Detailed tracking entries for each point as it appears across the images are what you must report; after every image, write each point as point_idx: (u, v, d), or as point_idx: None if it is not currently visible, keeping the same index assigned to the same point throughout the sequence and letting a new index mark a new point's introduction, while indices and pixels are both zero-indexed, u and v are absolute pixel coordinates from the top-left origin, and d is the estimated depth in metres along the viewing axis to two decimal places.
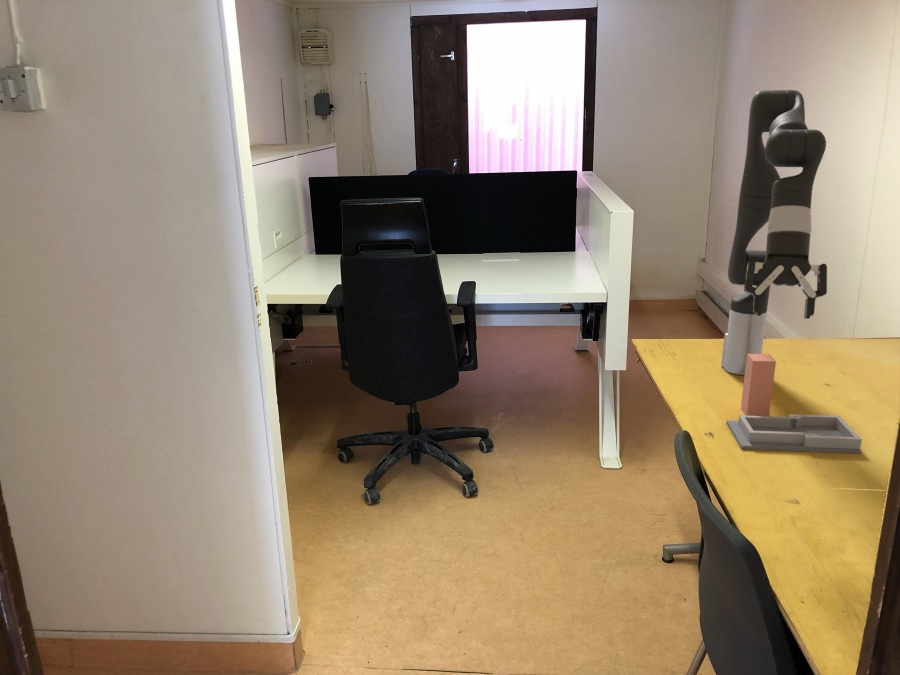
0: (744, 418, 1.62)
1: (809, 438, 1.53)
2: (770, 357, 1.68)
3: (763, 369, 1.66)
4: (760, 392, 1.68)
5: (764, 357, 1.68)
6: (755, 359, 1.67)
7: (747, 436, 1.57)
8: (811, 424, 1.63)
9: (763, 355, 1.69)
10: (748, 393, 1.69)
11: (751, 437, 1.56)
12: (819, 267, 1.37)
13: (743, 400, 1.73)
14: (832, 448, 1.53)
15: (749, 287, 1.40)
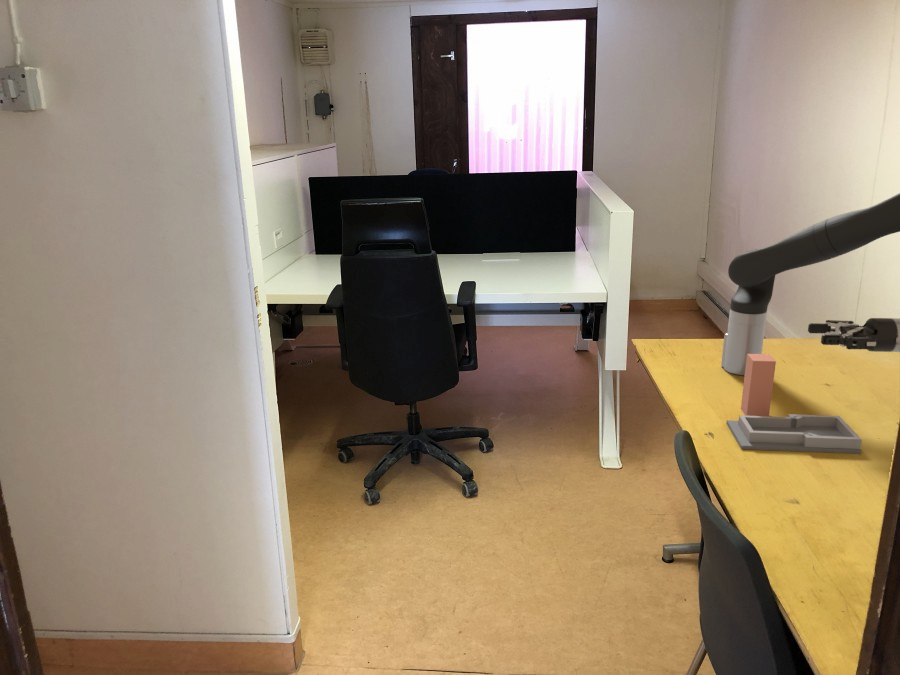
0: (744, 418, 1.62)
1: (809, 438, 1.53)
2: (770, 357, 1.68)
3: (763, 369, 1.66)
4: (760, 392, 1.68)
5: (764, 357, 1.68)
6: (755, 359, 1.67)
7: (747, 436, 1.57)
8: (811, 424, 1.63)
9: (763, 355, 1.69)
10: (748, 393, 1.69)
11: (751, 437, 1.56)
12: None
13: (743, 400, 1.73)
14: (832, 448, 1.53)
15: None
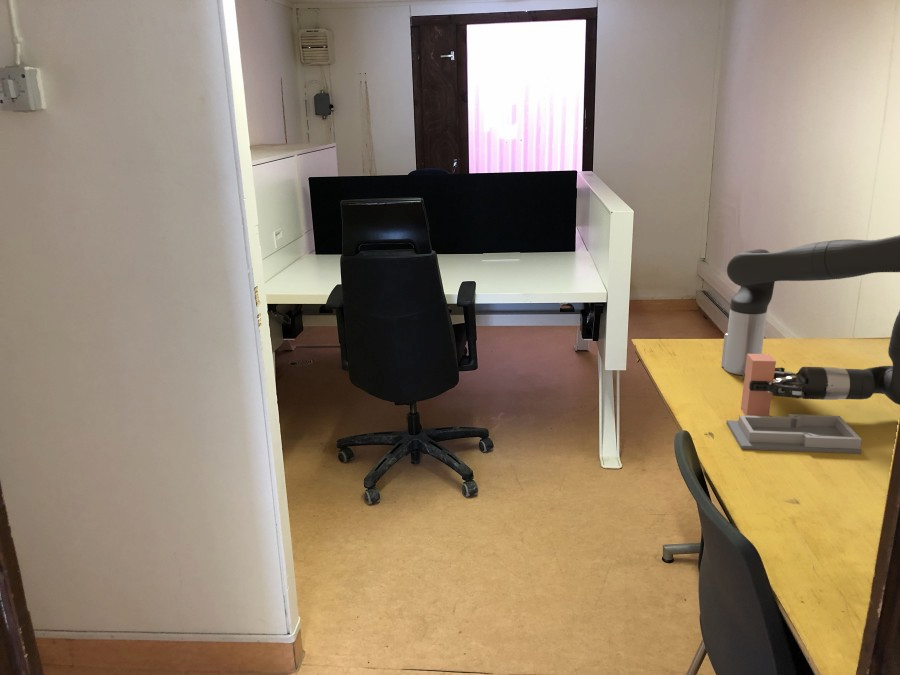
0: (744, 418, 1.62)
1: (809, 438, 1.53)
2: (770, 357, 1.68)
3: (763, 369, 1.66)
4: (760, 392, 1.68)
5: (764, 357, 1.68)
6: (754, 359, 1.67)
7: (747, 436, 1.57)
8: (811, 424, 1.63)
9: (763, 355, 1.69)
10: (748, 393, 1.69)
11: (751, 437, 1.56)
12: None
13: (743, 400, 1.73)
14: (832, 448, 1.53)
15: None
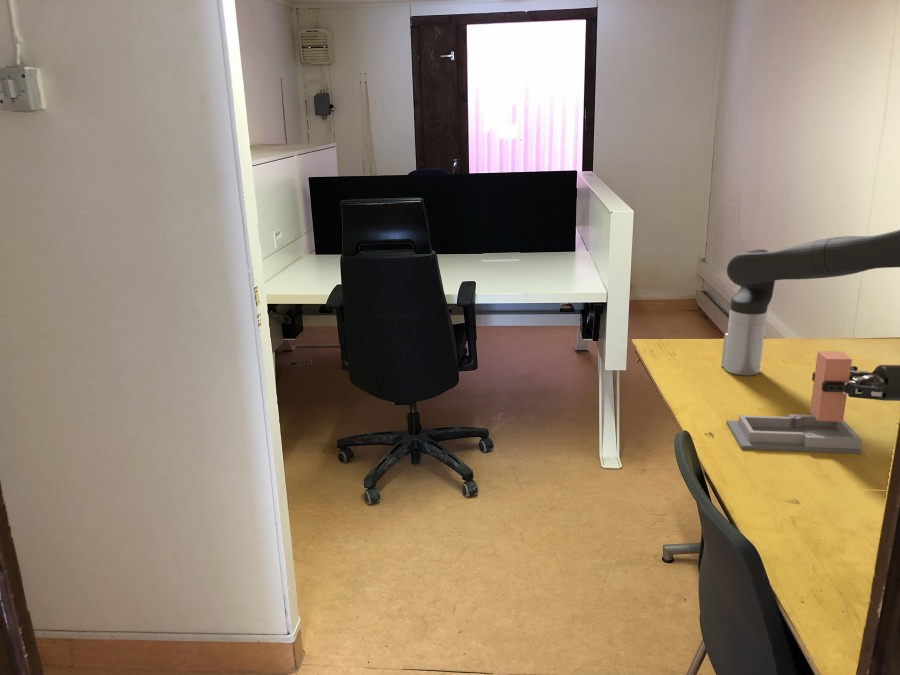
0: (744, 418, 1.62)
1: (809, 438, 1.53)
2: (844, 355, 1.53)
3: (838, 368, 1.51)
4: (833, 393, 1.53)
5: (837, 355, 1.53)
6: (828, 357, 1.51)
7: (747, 436, 1.57)
8: (811, 424, 1.63)
9: (836, 353, 1.54)
10: (820, 395, 1.54)
11: (751, 437, 1.56)
12: None
13: (813, 402, 1.57)
14: (832, 448, 1.53)
15: None
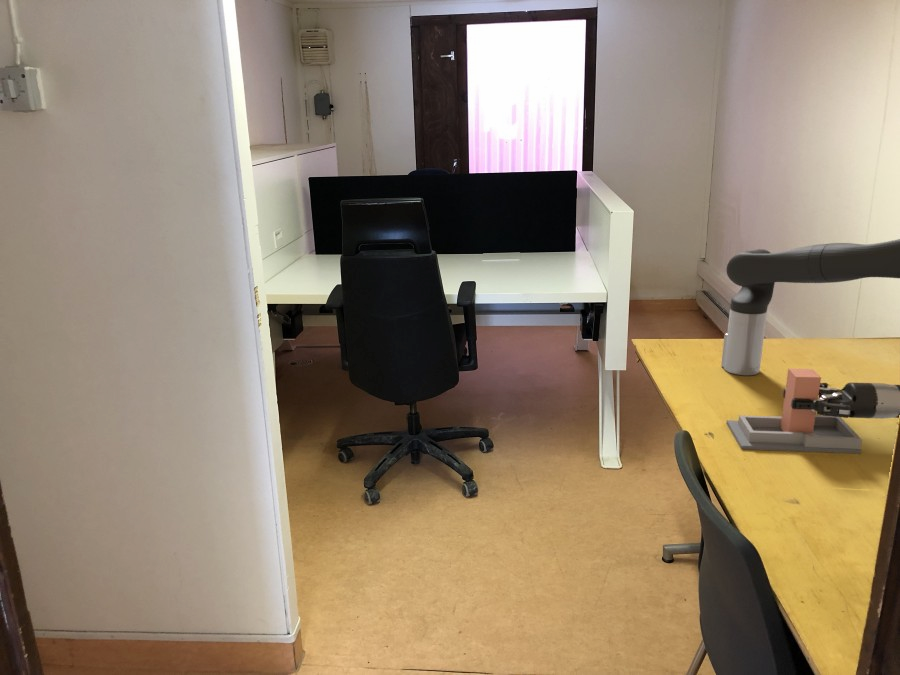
0: (744, 418, 1.62)
1: (809, 438, 1.53)
2: (814, 372, 1.55)
3: (807, 386, 1.53)
4: (803, 410, 1.55)
5: (807, 372, 1.55)
6: (797, 375, 1.53)
7: (747, 436, 1.57)
8: None
9: (806, 370, 1.56)
10: (790, 411, 1.56)
11: (751, 437, 1.56)
12: None
13: (783, 419, 1.60)
14: (832, 448, 1.53)
15: None
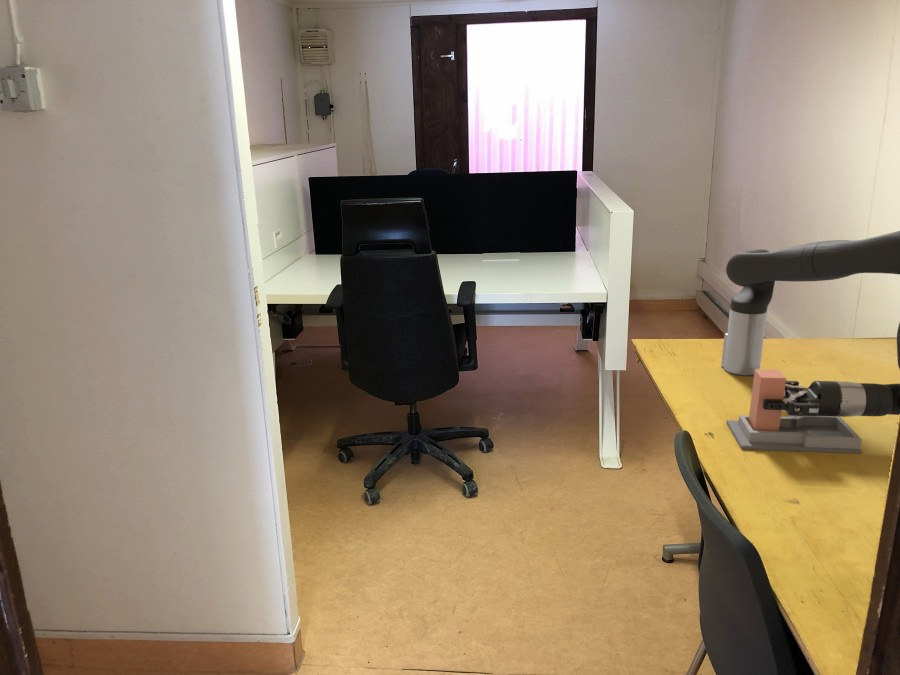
0: (744, 418, 1.62)
1: (809, 438, 1.53)
2: (779, 373, 1.56)
3: (772, 386, 1.54)
4: (768, 411, 1.56)
5: (773, 373, 1.56)
6: (763, 376, 1.54)
7: (747, 436, 1.57)
8: (811, 424, 1.63)
9: (772, 371, 1.57)
10: (756, 412, 1.57)
11: (751, 437, 1.56)
12: None
13: (750, 419, 1.61)
14: (832, 448, 1.53)
15: None
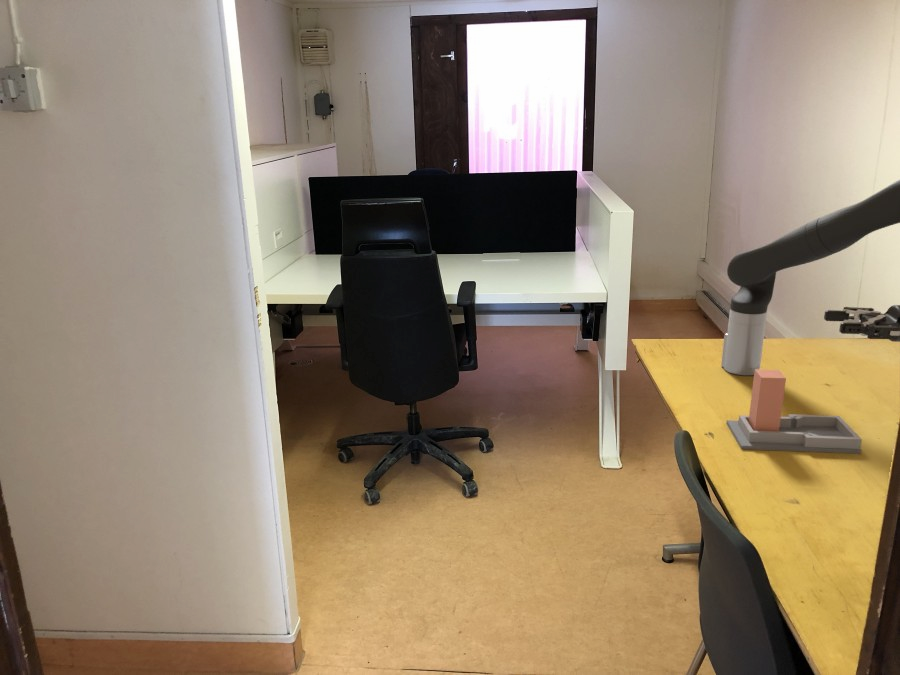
0: (744, 418, 1.62)
1: (809, 438, 1.53)
2: (779, 373, 1.56)
3: (772, 386, 1.54)
4: (768, 411, 1.56)
5: (773, 373, 1.56)
6: (763, 376, 1.54)
7: (747, 436, 1.57)
8: (811, 424, 1.63)
9: (772, 371, 1.57)
10: (756, 412, 1.57)
11: (751, 437, 1.56)
12: None
13: (750, 419, 1.61)
14: (832, 448, 1.53)
15: None
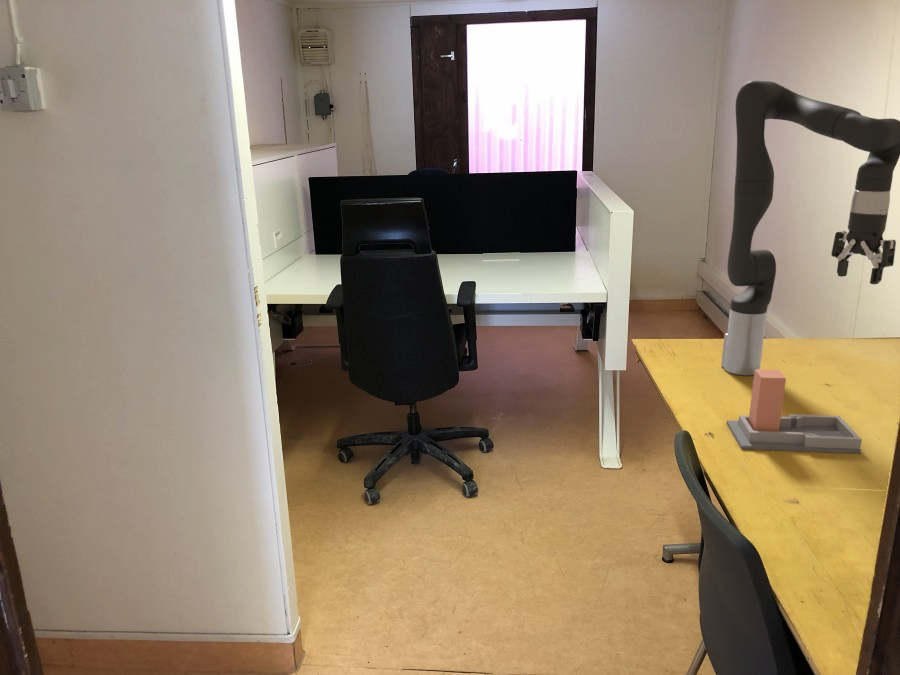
0: (744, 418, 1.62)
1: (809, 438, 1.53)
2: (779, 373, 1.56)
3: (772, 386, 1.54)
4: (768, 411, 1.56)
5: (773, 373, 1.56)
6: (763, 376, 1.54)
7: (747, 436, 1.57)
8: (811, 424, 1.63)
9: (772, 371, 1.57)
10: (756, 412, 1.57)
11: (751, 437, 1.56)
12: None
13: (750, 419, 1.61)
14: (832, 448, 1.53)
15: None
